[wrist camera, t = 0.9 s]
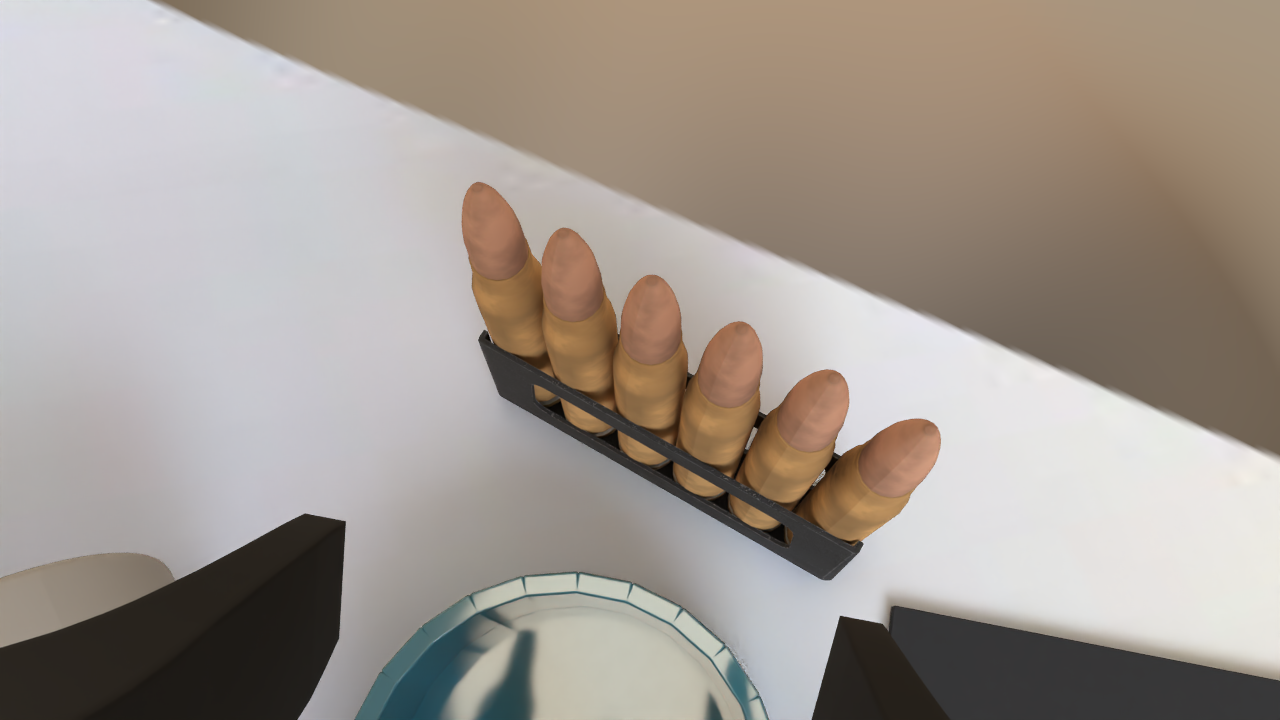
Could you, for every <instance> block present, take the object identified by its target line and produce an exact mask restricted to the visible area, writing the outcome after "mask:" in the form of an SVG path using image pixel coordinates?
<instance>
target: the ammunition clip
mask: <svg viewBox="0 0 1280 720" xmlns="http://www.w3.org/2000/svg"><path fill="white" fill-rule="evenodd" d="M462 232H463V238H464V243H465V246H466V249H467V252H468V255H469V262H470V265H471V269H472V272H473V273H472V290H473V293H474V296H475V299H476V302H477V305H478V307H479V309H480V312H481V314H482V317H483V319H484V321H485V324H486V326H487V329H488V331H489V334H490V336H491V338H492V341H493V343H494V344H493V343H491V340H490V337H489V334H488V331H485V330H484V331H483V332H482V334H481V335H480V337H479V339H478V341H479V344H480V346H481V349H482V351H483V354H484V356H485V359H486V361H487V364H488V367H489V369H490V372H491V374H492V377H493V379H494V382H495V385H496V387H497V390H498V392H499V394H500V396H502V397H504V398H505V399H507V400H509V401H511V402H512V403H514V404H516V405H518V406H519V407H521V408H523V409H525V410H526V411H528V412H530V413H532V414H533V415H535V416H537V417H539V418H540V419H542V420H544V421H546V422H547V423H549V424H551V425H553V426H554V427H556V428H558V429H560V430H561V431H563V432H565V433H567V434H568V435H570V436H572V437H573V438H575V439H577V440H579V441H580V442H582V443H584V444H586V445H587V446H589V447H591V448H593V449H594V450H596V451H598V452H600V453H601V454H603V455H605V456H607V457H608V458H610V459H612V460H614V461H615V462H617V463H619V464H621V465H622V466H624V467H626V468H628V469H629V470H631V471H633V472H635V473H636V474H638V475H640V476H642V477H643V478H645V479H647V480H649V481H650V482H652V483H654V484H656V485H657V486H659V487H661V488H663V489H664V490H666V491H668V492H670V493H671V494H673V495H675V496H677V497H678V498H680V499H682V500H683V501H685V502H687V503H689V504H690V505H692V506H694V507H696V508H697V509H699V510H701V511H703V512H704V513H706V514H708V515H710V516H711V517H713V518H715V519H717V520H718V521H720V522H722V523H724V524H725V525H727V526H729V527H731V528H732V529H734V530H736V531H738V532H739V533H741V534H743V535H745V536H746V537H748V538H750V539H752V540H753V541H755V542H757V543H759V544H760V545H762V546H764V547H766V548H767V549H769V550H771V551H773V552H774V553H776V554H778V555H780V556H781V557H783V558H785V559H787V560H788V561H790V562H792V563H793V564H795V565H797V566H799V567H800V568H802V569H804V570H806V571H807V572H809V573H811V574H813V575H814V576H816V577H818V578H820V579H822V580H832V579H833V578H834V577H835V576H836V575H837V574H838V573H839V572H840V571H841V570H842V569H843V568H844V567H845V566H846V565H847V564H848V563H849V562H850V561H851V560H852V559H853V558H854V557H855V556H856V555H857V554H858V553H859V552H860V550H861V548H862V546H863V543H862V542H861V541H862V540H863V539H865V538H866V537H867V536H869V535H870V534H871V533H873V532H874V531H876V530H877V529H878V528H880V527H881V526H883V525H884V524H885V523H887V522H888V521H889V520H891V519H892V518H894V517H895V516H896V515H898V514H899V513H900V512H901V510H902V509H903V508H904V506H905V505H906V504H907V502H908V501H909V498H910V494H911V493H912V492H913V491H914V489H915V488H916V487H917V486H918V485H919V484H920V483H921V482H922V481H923V480H924V479H925V477H926V476H927V475H928V473H929V472H930V471H931V469H932V468H933V466H934V465H935V463H936V460H937V457H938V454H939V450H940V444H941V438H940V432H939V430H938V428H937V427H936V426H935V424H934V423H932V422H930V421H928V420H925V419H910V420H904V421H900V422H897V423H895V424H893V425H891V426H889V427H887V428H886V429H884V430H882V431H881V432H879V433H877V434H876V435H875V436H874V437H873V438H872V439H871V440H869V441H867V442H866V443H864V444H863V445H858V446H856V447H854V448H852V449H851V450H849V451H847V452H845V453H844V454H843V455H842V456H840V455H838V454H836V453H834V449H835V440H836V439H837V436H838V433H839V431H840V430H841V428H842V426H843V424H844V421H845V417H846V414H847V411H848V407H849V390H848V385H847V383H846V381H845V378H844V377H843V376H842V375H841V374H840V373H838V372H837V371H834V370H828V369H826V370H821V371H817V372H814V373H812V374H810V375H809V376H807V377H805V378H803V379H802V380H800V381H799V382H798V383H797V384H796V385H795V386H794V387H793V388H792V390H791V391H790V392H789V393H788V394H787V396H786V397H785V399H784V400H783V402H782V403H781V404H780V405H779V406H778V407H777V408H776V409H774V410H772V411H770V413H769V414H768V415H765V414H763V413H761V412H759V410H760V391H759V386H760V377H761V374H762V368H763V356H762V346H761V343H760V341H759V338H758V336H757V334H756V332H755V330H754V329H753V328H752V327H751V326H750V325H749V324H747V323H745V322H740V321H739V322H733V323H730V324H728V325H727V326H725V327H724V328H722V329H721V330H719V331H718V333H717V334H716V335H715V336H714V337H713V338H712V340H711V341H710V342H709V344H708V345H707V347H706V349H705V351H704V354H703V357H702V359H701V362H700V365H699V367H698V370H697V373H696V374H695V375H692V374H690V373H688V353H687V351H686V348H685V346H684V343H683V341H682V330H681V313H680V308H679V305H678V302H677V300H676V297H675V295H674V292H673V290H672V289H671V287H670V286H669V285H668V283H667V282H666V281H665V280H664V279H662V278H661V277H659V276H657V275H647V276H645V277H643V278H641V279H640V280H639V281H638V282H637V283H636V284H635V285H634V287H633V288H632V289H631V291H630V292H629V294H628V297H627V299H626V302H625V304H624V307H623V311H622V316H621V329H620V334H618V333H617V322H616V315H615V312H614V309H613V307H612V304H611V302H610V300H609V299H608V298H607V296H606V292H605V289H604V286H603V283H602V277H601V273H600V270H599V267H598V265H597V262H596V259H595V257H594V254H593V252H592V250H591V249H590V247H589V246H588V244H587V243H586V242H585V241H584V240H583V239H582V238H581V236H580V235H579V234H578V233H576V232H575V231H573V230H571V229H568V228H560V229H558V230H557V231H555V232H554V233H553V234H552V236H551V237H550V238H549V241H548V243H547V246H546V248H545V251H544V253H543V258H542V266H541V264H540V263H539V261H538V260H537V259H536V258H535V257H534V256H533V255H532V253H531V250H530V248H529V245H528V242H527V240H526V238H525V237H524V233H523V231H522V228H521V225H520V222H519V220H518V218H517V217H516V215H515V213H514V211H513V209H512V208H511V207H510V205H509V204H508V203H507V202H506V200H505V199H504V198H503V197H502V196H501V195H500V194H499V193H498V192H497V191H496V190H495V189H494V188H492V187H491V186H489V185H487V184H485V183H481V182H476V183H474V184H472V185H471V186H470V188H469V189H468V191H467V193H466V195H465V198H464V202H463V207H462ZM685 389H686V391H685ZM753 427H755V428H757V429H758V430H757V433H756V435H755V437H754V439H753V441H752V443H751V446H750V448H749V450H746V449H745V447H746V445H747V442H748V439H749V437H750V434H751V432H752V429H753ZM824 469H825V471H826V474H825V476H824V477H823V478H822V479H821V480H820V481H819V482H818V484H817V485H816V486H813V485H812V484H813V483H814V482H815V480H816V479H817V478H818V476H819V475H820V474H821V473H822V471H823V470H824Z"/></svg>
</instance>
